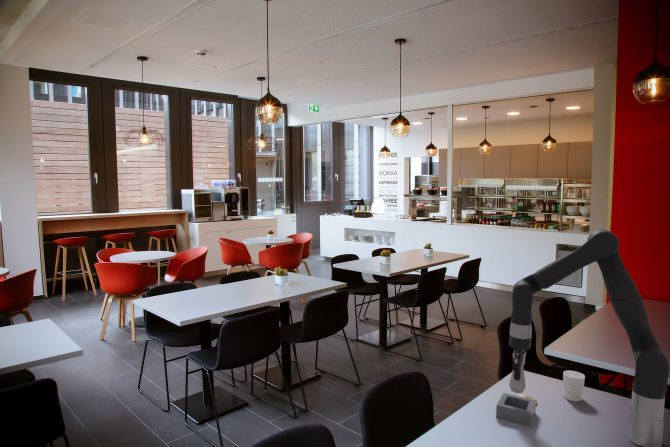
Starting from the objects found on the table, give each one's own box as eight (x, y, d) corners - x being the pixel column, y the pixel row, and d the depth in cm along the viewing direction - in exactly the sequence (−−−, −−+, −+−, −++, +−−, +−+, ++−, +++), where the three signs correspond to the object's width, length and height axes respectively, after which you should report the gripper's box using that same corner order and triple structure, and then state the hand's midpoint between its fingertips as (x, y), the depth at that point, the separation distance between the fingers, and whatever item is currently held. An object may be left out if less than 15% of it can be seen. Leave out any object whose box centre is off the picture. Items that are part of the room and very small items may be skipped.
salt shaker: (526, 395, 174) (528, 361, 173) (510, 393, 175) (512, 359, 174) (523, 388, 180) (525, 355, 179) (507, 386, 181) (509, 354, 180)
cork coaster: (538, 399, 192) (538, 398, 191) (535, 408, 184) (535, 407, 184) (515, 394, 196) (515, 392, 196) (511, 402, 188) (511, 401, 188)
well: (535, 412, 181) (536, 400, 180) (530, 426, 170) (530, 413, 170) (502, 404, 187) (503, 392, 186) (495, 417, 177) (496, 404, 176)
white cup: (557, 395, 196) (559, 372, 195) (570, 392, 199) (572, 369, 198) (574, 403, 188) (575, 379, 188) (587, 400, 192) (589, 376, 191)
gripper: (527, 342, 168) (525, 388, 169) (534, 331, 180) (531, 375, 181) (506, 337, 171) (503, 383, 173) (513, 327, 183) (511, 370, 185)
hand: (517, 379), depth 177 cm, fingers closed on salt shaker, 3 cm apart
